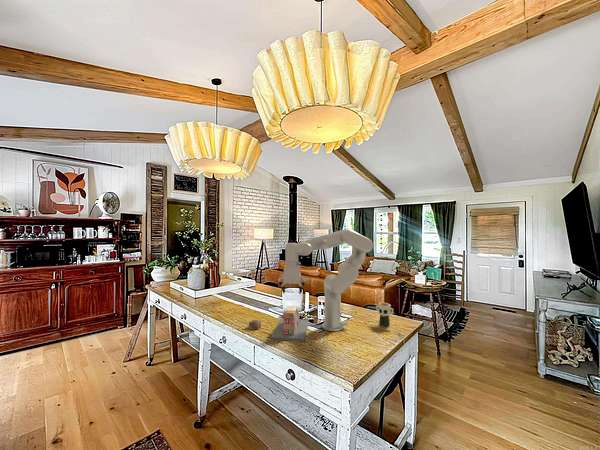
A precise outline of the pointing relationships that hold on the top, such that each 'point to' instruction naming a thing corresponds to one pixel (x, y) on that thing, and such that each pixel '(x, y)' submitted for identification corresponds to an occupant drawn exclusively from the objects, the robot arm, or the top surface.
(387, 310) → the beige and green figurine
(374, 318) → the top surface
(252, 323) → the walnut brick
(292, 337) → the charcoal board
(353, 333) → the top surface
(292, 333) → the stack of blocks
